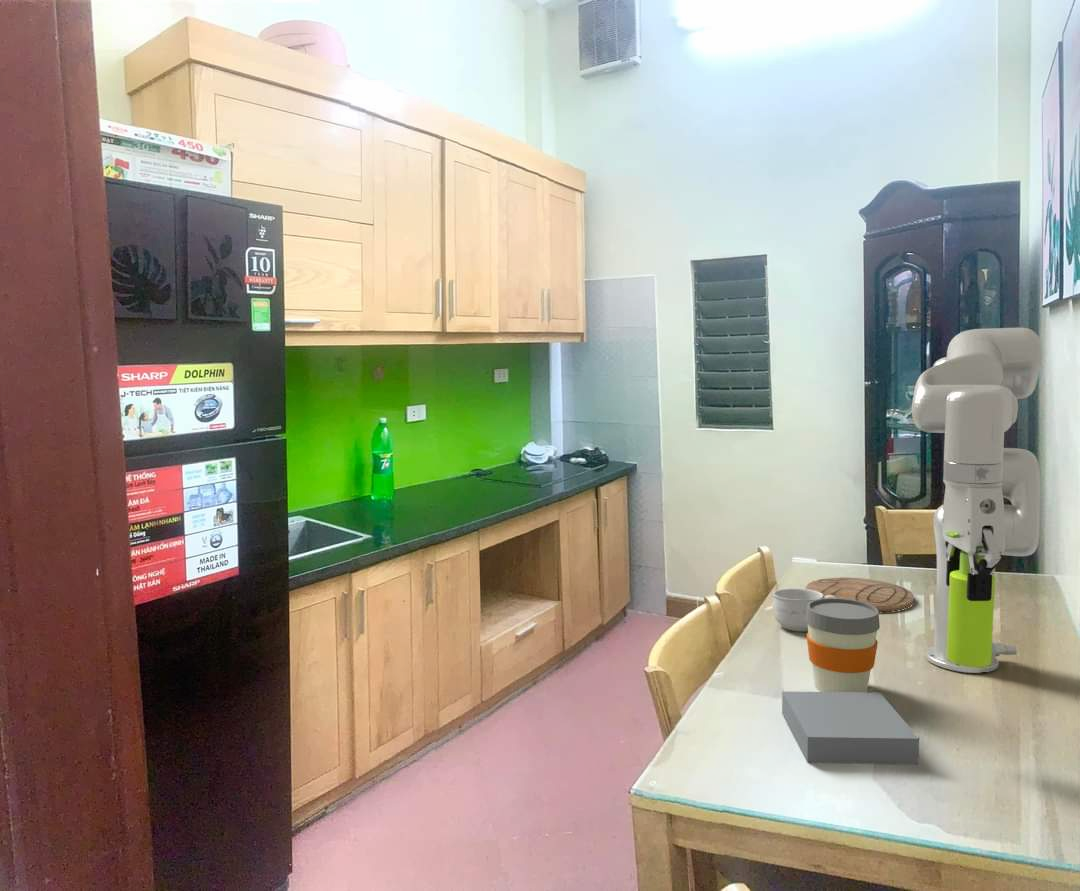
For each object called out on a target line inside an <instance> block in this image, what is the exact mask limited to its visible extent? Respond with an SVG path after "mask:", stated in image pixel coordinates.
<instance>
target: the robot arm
mask: <svg viewBox="0 0 1080 891" xmlns="http://www.w3.org/2000/svg"><path fill="white" fill-rule="evenodd" d="M1042 362H1043V346H1042V341H1041V340H1040V337H1039V336H1038V334H1037V333H1036V332H1035V331H1034V330H1033V329H1030V328H1027V327H1002V328H1001V327H996V328H993V327H992V328H973V329H969V330H968V329H967V330H965V331H961V332H960V333H959V332H958V334H956V335H955V336H954V337H952V338H951V340H950V342H949V344H948V346H947V350H946V356H944V357H941V358H939V359H937V360H936V361H935V362H934V363H933V365H932V366H931V367H930V368H928V369H926V370H924V371H923V372H922V373H921V374H920V375H919V377H918V379H917V380H916V383H915V386H914V391H913V396H912V403H911V415H912V420H913V424H914V425H915V427H916V428H917V429H918V430H920V431H922V432H925V433H932V434H933V433H934V434H938V433H939V434H943V433H944V447H943V448H944V449H943V480H942V481H943V483H944V485H945V490H944V495H943V496H944V497H943V504H941V505H940V506H939V507H938V508H937V509H936V510H935V511H934V514H933V520H932V522H933V531H934V533H933V535H934V542H935V550H936V589H935V615H934V616H935V617H934V642H933V643H934V645H931V646H929V647H927V648H926V649H925V653H924V654H925V655H924V656H925V658H926V660H928V661H929V662H930V663H932V664H933V665H934V666H937V667H940V668H943V669H946V670H950V671H954V672H960V673H965V674H966V673H968V674H982V673H981V672H987V673H991V672H993V670H994V671H996V670H997V669H998V668H999V660H998V657H1000V656H1001V655H1004V656H1016V655H1017V653H1018V651H1017V647H1016V645H1014V644H1003V642H1002V641H992V654H991V664H990V665H989V666H987V667H979V668H976V667H967V666H962V665H959V664H956V663H953V662H951V661H950V660H949V659H948V658H947V633H948V607H949V581H950V572H952V571H956V570H959V568H960V551H964V552H966V553H968V556H969V563H970V570H971V573H968V576H967V599H968V600H970V601H990V600H991V595H992V576H994V574H995V568H996V566H997V564H998V563H999V561H1001V558H1002V556H1011V557H1012V556H1014V557H1027V556H1031V555H1033V554H1034V553H1035V552H1036V551H1037V549H1038V546H1039V540H1040V523H1041V522H1040V513H1041V512H1040V506H1041V504H1040V503H1041V502H1040V501H1041V498H1040V497H1041V496H1040V495H1041V494H1040V493H1041V492H1040V491H1041V489H1040V488H1041V480H1040V479H1041V477H1040V475H1041V474H1040V473H1041V472H1040V467H1039V462H1038V458H1037V456H1036V455H1035V454H1034V453H1033V452H1031V451H1030V450H1027V449H1024V448H1015V447H1005V446H1004V445H1005V444H1004V443H1005V432H1007V431H1008V430H1009V429H1010V428H1011V426H1012V425H1013V424H1015V423H1016V421H1017V418H1018V413H1019V405H1018V404H1019V401H1018V400H1019V399H1026V398H1028V397H1029V396H1031V395H1032V394H1033V392H1034V391H1035V389H1036V387H1037V382H1038V378H1039V375H1040V370H1041V369H1042V364H1043V363H1042ZM1004 499H1007V500H1008V501H1009V502H1010V503H1011V504H1004V503H1005V500H1004ZM949 531H954V532H956V533H958V534H959V538H955V539H954V538H952V537H949V536H947V535H946V534H945V533H947V532H949ZM976 549H980V550H982V551H983V552H977V550H976ZM1001 555H1002V556H1001ZM976 557H984V559H981V560H980V561H979V563H978V564H977V559H976ZM995 669H996V670H995ZM990 671H991V672H990Z"/></svg>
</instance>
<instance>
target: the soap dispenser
mask: <svg viewBox="0 0 1080 891" xmlns="http://www.w3.org/2000/svg"><path fill="white" fill-rule="evenodd" d="M945 534H946V535H947V536H949V537H952V538H954V539H955V538H959V534H958V533H956V532H954V531H949V532H947V533H945ZM976 550H977V552H983V551H982V550H980V549H976ZM976 559H977V564H978V563H979V561H980V560H981V559H984V557H976ZM968 573H971V570H970V563H969V556H968V553H966V552H964V551H960V568H959V570H956V571H952V572H950V581H949V607H948V633H947V658H948V659H949V660H950V661H951V662H953V663H956V664H959V665H962V666H967V667H976V668H979V667H987V666H989V665H990V664H991V654H992V642H993V628H994V612H995V611H994V608H995V587H996V586H995V585H996V577H995V576H994V575H992V595H991V600H990V601H970V600H968V599H967V576H968Z"/></svg>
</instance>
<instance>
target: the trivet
mask: <svg viewBox="0 0 1080 891" xmlns="http://www.w3.org/2000/svg"><path fill="white" fill-rule="evenodd" d="M805 589H809V590H814V591H817V592H820V593H822V594H823V597H825V596H827V595H832V596H835V597H836V598H842V599H851V600H856V601H861V602H864V603H867V604H870V605H872V606H874V607H875V608H877V609H878V612H892V611H898V610H902V609H905V608H908V607H910V606H911V605H912V604H913V605H914V602H913V601H914V599H915V598H914V596H915V595H914V594H913V593H912V591H910V590H909V589H907V588H905V587H902V586H900V585H898V584H895V583H891V582H887V581H882V580H877V579H876V580H875V579H871V578H870V579H869V578H861V577H846V576H845V577H843V576H841V577H826V578H820V579H816V580H813V581H811V582H809V583H808V584H806V587H805ZM910 608H911V607H910ZM892 613H893V612H892Z"/></svg>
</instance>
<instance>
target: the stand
mask: <svg viewBox="0 0 1080 891" xmlns="http://www.w3.org/2000/svg"><path fill="white" fill-rule="evenodd" d="M781 693H782V694H781V695H782V696H781V697H782V698H781V704H782V705H781V715H782V714H783V715H782V716H784V717H783V719H784V718H785V719H784V721H785V720H786V721H785V722H787V723H786V725H787V726H788V728H789V730H790V732H791V734H792V736H793V738H794V739H795V742H796V744H797V745H798V748H799V749H800V751H801V753H802V755H803V757H804V759H805V760H806V763H813V764H816V763H817V764H870V765H871V764H874V765H877V764H878V765H881V764H883V765H919V755H920V754H919V753H920V752H919V750H920V749H919V748H920V738H919V737H918V735H917V734H916V733H915V732H914V731H913V730H912V729H911V727H910V726H909V725H908V724H907V723H906V722H905V720H904V719H903V717H901V716H900V715H899V713H898V712H897V711H896V710H895V709H894V708H893V706H892V705H891V703H889V702H888V700H887V699H886V698H885V696H883V695H882V693H881V692H873V691H872V692H870V691H869V692H868V691H867V692H820V691H782V692H781Z"/></svg>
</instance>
